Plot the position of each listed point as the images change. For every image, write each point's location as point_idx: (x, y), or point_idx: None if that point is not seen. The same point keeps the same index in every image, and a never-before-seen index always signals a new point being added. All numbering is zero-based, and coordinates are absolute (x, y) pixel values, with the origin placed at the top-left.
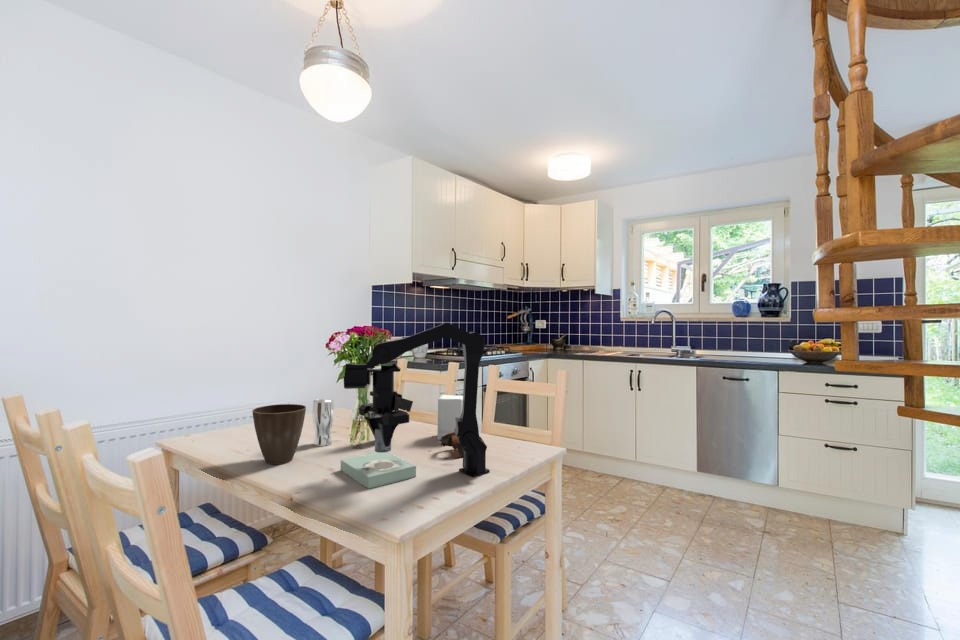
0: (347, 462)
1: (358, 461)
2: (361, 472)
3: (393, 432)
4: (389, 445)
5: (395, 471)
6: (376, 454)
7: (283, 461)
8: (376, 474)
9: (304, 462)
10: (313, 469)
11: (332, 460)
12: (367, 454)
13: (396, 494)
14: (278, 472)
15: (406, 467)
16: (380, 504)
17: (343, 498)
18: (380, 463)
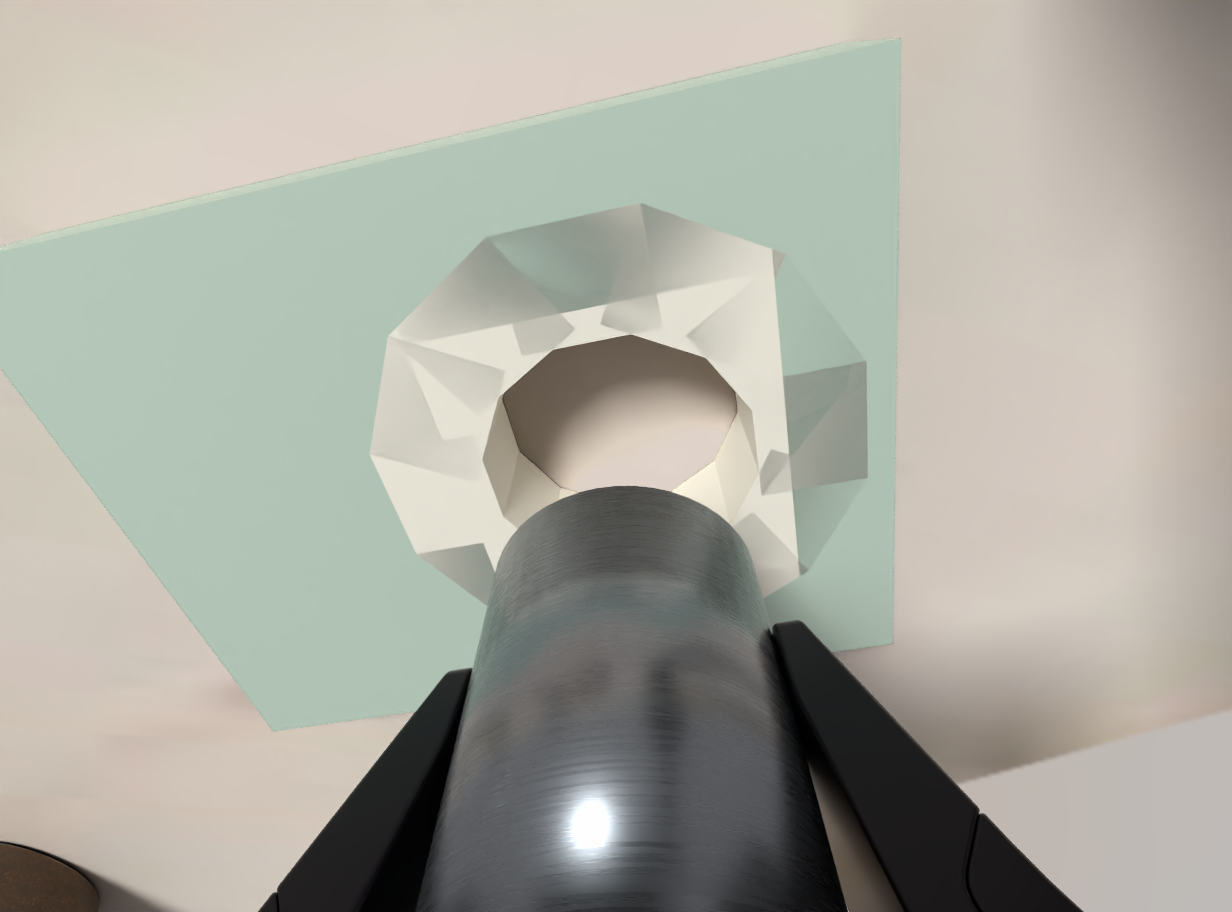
0: (380, 704)
1: (376, 629)
2: None
3: (1038, 876)
4: (754, 602)
5: (893, 385)
6: (127, 422)
7: (77, 890)
8: (874, 580)
9: (60, 796)
10: (243, 773)
11: (13, 661)
12: (117, 512)
13: (1144, 418)
14: (262, 891)
15: (877, 219)
16: (1207, 565)
17: (910, 713)
18: (487, 447)
